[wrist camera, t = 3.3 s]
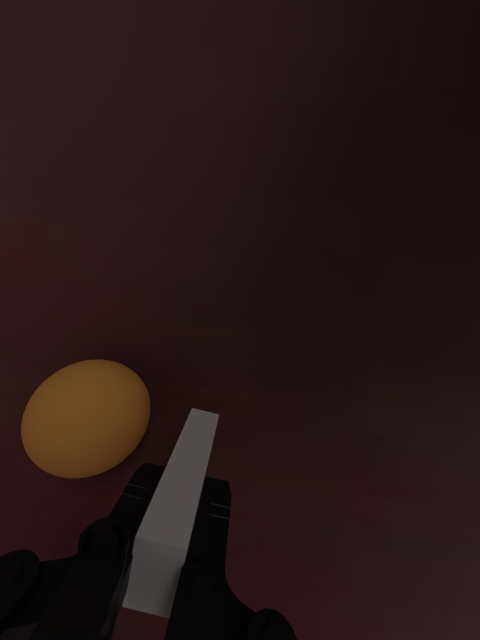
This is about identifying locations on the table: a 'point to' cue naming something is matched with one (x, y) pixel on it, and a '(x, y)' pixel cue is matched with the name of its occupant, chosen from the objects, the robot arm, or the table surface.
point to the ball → (85, 418)
